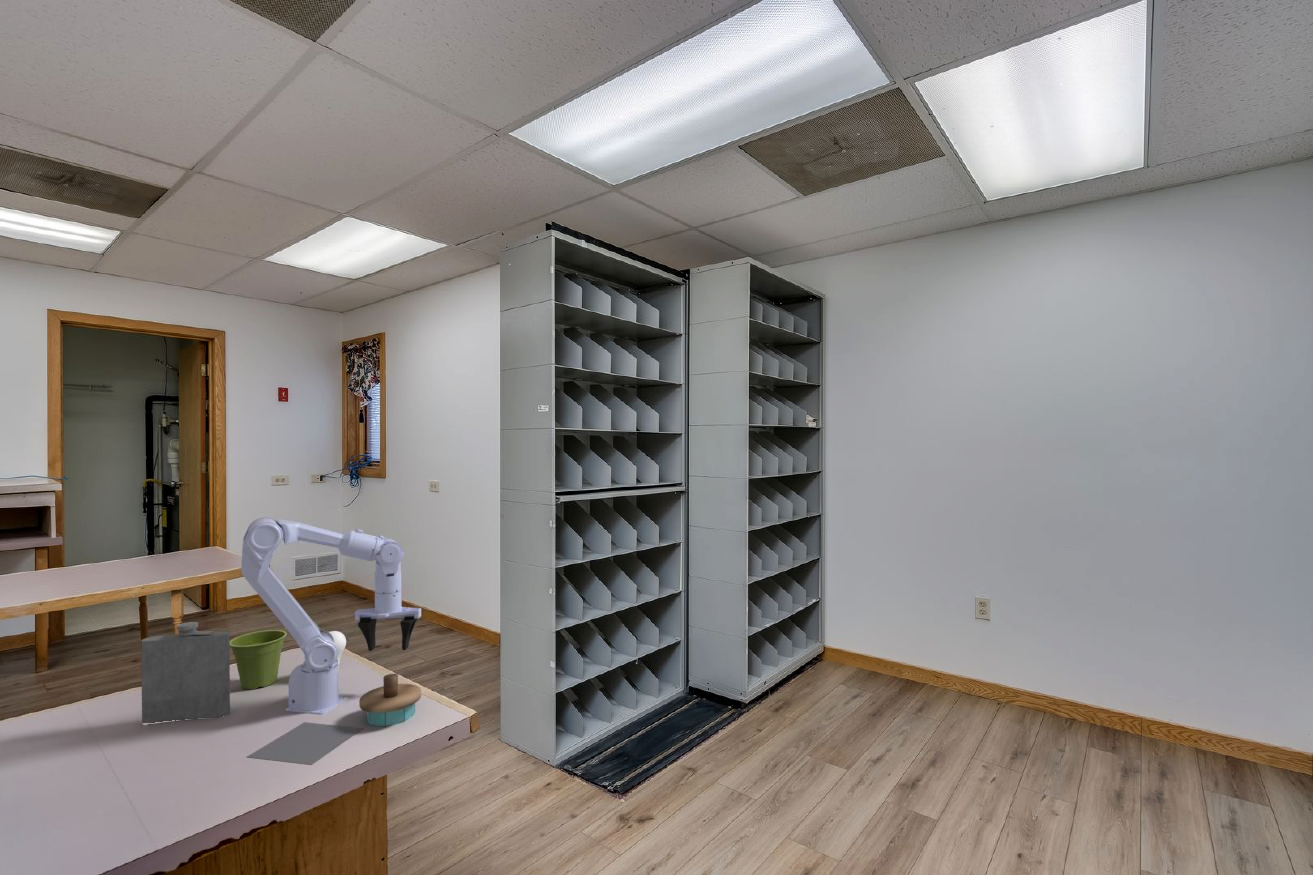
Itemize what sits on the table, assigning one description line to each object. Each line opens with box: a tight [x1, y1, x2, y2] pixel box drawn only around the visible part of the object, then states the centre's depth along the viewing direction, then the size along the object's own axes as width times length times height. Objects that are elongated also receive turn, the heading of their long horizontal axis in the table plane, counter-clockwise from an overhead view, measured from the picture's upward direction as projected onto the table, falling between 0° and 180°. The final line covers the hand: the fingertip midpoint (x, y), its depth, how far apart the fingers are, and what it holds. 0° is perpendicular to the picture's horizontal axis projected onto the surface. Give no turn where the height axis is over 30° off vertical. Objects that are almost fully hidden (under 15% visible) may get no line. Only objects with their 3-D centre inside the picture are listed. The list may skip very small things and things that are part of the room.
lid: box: [358, 673, 422, 713], centre depth 129 cm, size 12×12×5 cm
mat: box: [246, 722, 364, 766], centre depth 118 cm, size 14×14×1 cm
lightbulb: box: [328, 630, 347, 671], centre depth 153 cm, size 6×6×11 cm
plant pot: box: [229, 629, 288, 690], centre depth 148 cm, size 12×12×11 cm
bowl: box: [365, 703, 416, 727], centre depth 129 cm, size 9×9×4 cm
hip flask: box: [140, 621, 231, 724], centre depth 130 cm, size 16×4×20 cm, turn 104°
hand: (388, 648), depth 143 cm, fingers open, 7 cm apart
